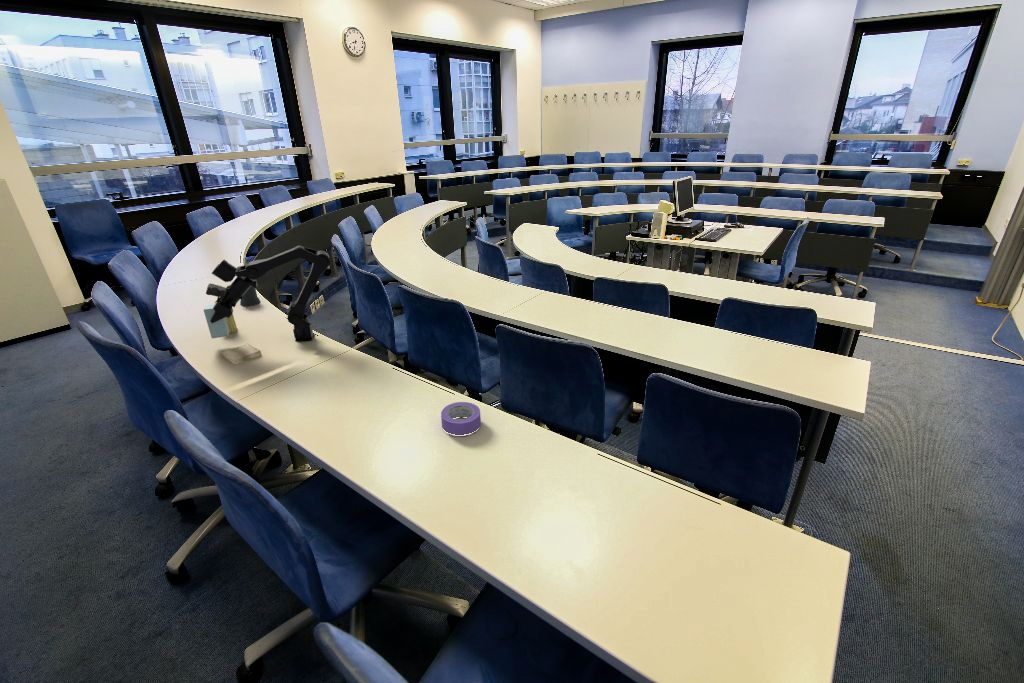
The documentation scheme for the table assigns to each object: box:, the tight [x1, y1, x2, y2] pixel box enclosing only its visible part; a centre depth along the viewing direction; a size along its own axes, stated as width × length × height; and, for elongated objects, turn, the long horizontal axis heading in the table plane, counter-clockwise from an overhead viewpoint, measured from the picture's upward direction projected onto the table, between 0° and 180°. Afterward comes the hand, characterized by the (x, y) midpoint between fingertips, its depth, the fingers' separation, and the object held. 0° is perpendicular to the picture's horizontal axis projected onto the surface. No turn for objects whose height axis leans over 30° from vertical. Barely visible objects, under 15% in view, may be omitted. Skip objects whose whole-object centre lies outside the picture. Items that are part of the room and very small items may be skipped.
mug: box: [239, 286, 261, 307], centre depth 234 cm, size 12×9×11 cm
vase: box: [214, 299, 238, 335], centre depth 200 cm, size 6×6×14 cm
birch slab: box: [220, 343, 262, 366], centre depth 179 cm, size 10×10×2 cm
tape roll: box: [440, 401, 482, 435], centre depth 141 cm, size 12×12×5 cm
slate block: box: [203, 303, 229, 339], centre depth 182 cm, size 6×6×12 cm
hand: (212, 319), depth 181 cm, fingers closed on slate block, 5 cm apart
